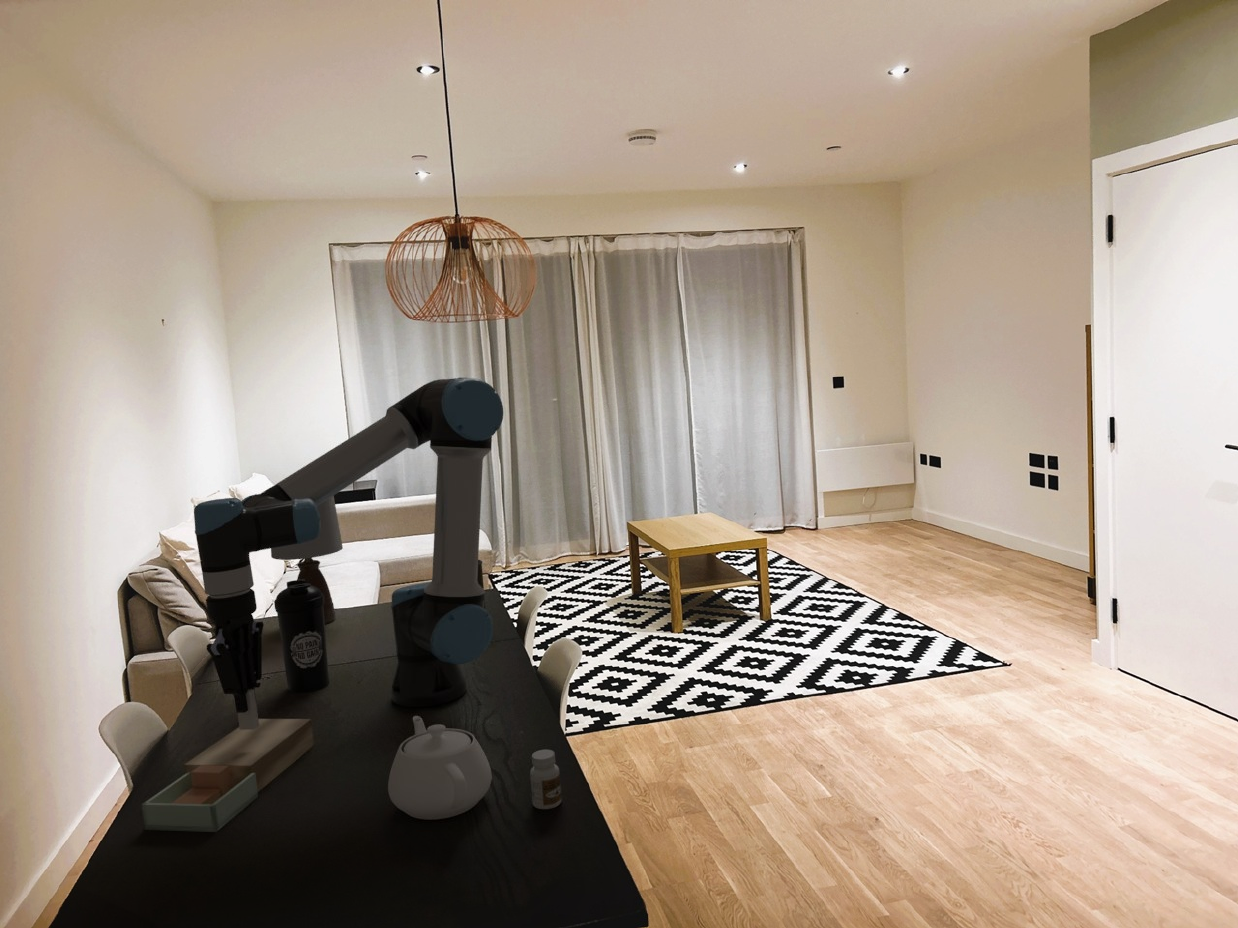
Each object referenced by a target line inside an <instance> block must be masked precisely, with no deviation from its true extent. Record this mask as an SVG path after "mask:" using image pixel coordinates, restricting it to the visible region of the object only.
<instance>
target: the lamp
mask: <svg viewBox="0 0 1238 928" xmlns="http://www.w3.org/2000/svg"><path fill="white" fill-rule="evenodd" d="M334 496H335V495H333V496H332V497H330V498H329V499H327V500H326V501H324V502H323V503H321V504H319V505H318V506H317V509H318V512H319V516H320V524H321V527H320V533H319V536H318V537H317V538H316V539H314V540H310V541H306V542H303V543H301V544H299V543H298V544H292V545H287V546H281V547H276V548H270V555H271V556H270V557H271V559H274V560H278V561H279V560H280V561H283V560H284V561H286V560H287V561H290V560H291V561H293V560H302V559H304V560H303V561H301V562H298V563H297V564H296V567H297V568H298V569H299V572H298V575H297V578H296V580H300V579H305V582H306V583H310V584H311V586H314V587H317V588H318V589H319V590H320V591H321V593H323V594H324V601H325V602H324V605H323V609H324V622H325V625H326V624H330V623H332V622H334V620H336V617H337V616H336V611H335V606H334V602H333V598H332V596H331V591H330V588H329V585H328V582H327V581H326V578H325V576H324V575H323V573H322V570H321V569H320V564H321V561H320V560H316V559H313V558H318V557H322V556H323V557H324V556H328V555H331V554H332V555H333V554H335V553H338V552H339V551H341V550H343V549H344V548H343V543H342V542H343V541H342V536H341V529H340V524H339V519H338V512H337V508H336V502H335V497H334Z"/></svg>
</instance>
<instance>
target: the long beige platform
mask: <svg viewBox="0 0 1238 928" xmlns="http://www.w3.org/2000/svg"><path fill="white" fill-rule="evenodd" d="M258 720H259V726H258V727H257V728H256V729H250V730H240V727H239V726H238V727H237V728H235V729H233V730H232V731H231V732H230V733H228V734H227V735H225V736H224V737H222V738H221V739H218V741H216V742H215V743H213V744H212V745H211V746H209V747H207V748H206V749H205V750H203V751H202V752H201V753H199V754H198V755H196V756H194V757H193V758H192V759H190V760H189V761H187V762H185V763H184V766H183V767H184V772H185V774H186V773H188V772H192V771H193V770H195V769H196V768H198V767H199V766H200V765H220V766H229V770H230V778H231V786H232V788H233V787H235V786H236V785H237V784H239V783H240V782H241V781H242V780H244V779H245V778H246V777H247V776H249V775H250V774H251V773H255V774H256V782H257V791H258V793H259V792H260V791H261V790H262V789H264V788H265V787H266V786H267V785H269V784H270V783H271V782H272V781H273V780H274V779H276V778H277V777H278V776H280V774H282V773H283V772H284V771H285V770H287V768H289V767H290V766H291V765H292V764H294V763H296V761H297V760H298V759H300V758H301V757H302V756H303V755H304V754H306V753H307V752H308V751H310V750H311V749H312V748H313V747H314V746H315V742H314V734H313V726H312V725H313V724H312V719H311V718H258ZM185 774H184V775H185Z"/></svg>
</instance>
